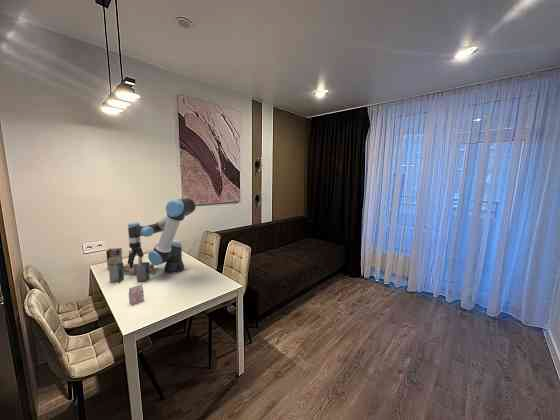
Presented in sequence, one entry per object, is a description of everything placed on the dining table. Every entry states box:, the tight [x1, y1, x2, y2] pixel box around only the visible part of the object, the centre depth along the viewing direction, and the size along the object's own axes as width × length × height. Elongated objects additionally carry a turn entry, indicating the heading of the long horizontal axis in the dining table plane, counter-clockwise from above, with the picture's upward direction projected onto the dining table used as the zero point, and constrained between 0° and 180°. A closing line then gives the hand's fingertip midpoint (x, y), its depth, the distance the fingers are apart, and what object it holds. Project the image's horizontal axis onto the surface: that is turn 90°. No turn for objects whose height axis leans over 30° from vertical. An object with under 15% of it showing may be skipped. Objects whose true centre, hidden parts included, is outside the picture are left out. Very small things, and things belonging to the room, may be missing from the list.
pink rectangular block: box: [128, 283, 145, 306], centre depth 137 cm, size 4×7×10 cm, turn 142°
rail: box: [123, 262, 155, 272], centre depth 180 cm, size 24×5×5 cm, turn 98°
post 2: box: [136, 261, 151, 283], centre depth 165 cm, size 6×7×12 cm
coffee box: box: [105, 247, 123, 268], centre depth 184 cm, size 9×6×16 cm
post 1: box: [107, 262, 125, 284], centre depth 163 cm, size 6×7×12 cm
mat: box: [123, 267, 160, 276], centre depth 180 cm, size 30×11×1 cm, turn 98°
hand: (136, 267), depth 180 cm, fingers open, 13 cm apart
